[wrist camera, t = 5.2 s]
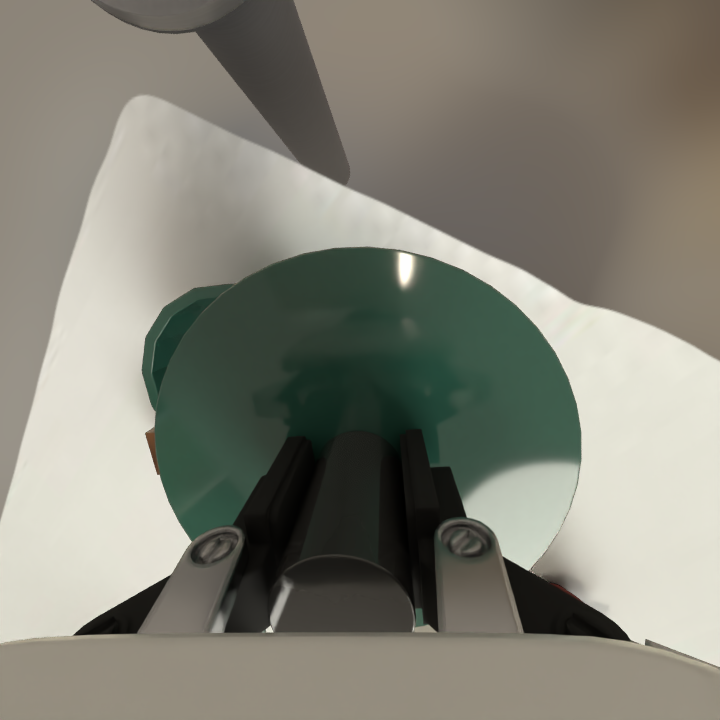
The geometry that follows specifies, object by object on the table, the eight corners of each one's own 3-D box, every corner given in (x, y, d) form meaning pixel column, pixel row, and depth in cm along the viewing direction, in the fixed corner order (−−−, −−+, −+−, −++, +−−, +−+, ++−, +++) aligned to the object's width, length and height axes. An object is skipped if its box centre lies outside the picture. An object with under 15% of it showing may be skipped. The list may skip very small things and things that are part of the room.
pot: (193, 289, 33) (119, 297, 24) (331, 272, 32) (310, 273, 22) (223, 418, 36) (169, 469, 27) (349, 408, 35) (337, 458, 26)
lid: (130, 272, 12) (-150, 276, 6) (576, 224, 10) (853, 158, 4) (216, 605, 15) (104, 829, 9) (554, 601, 14) (687, 859, 8)
